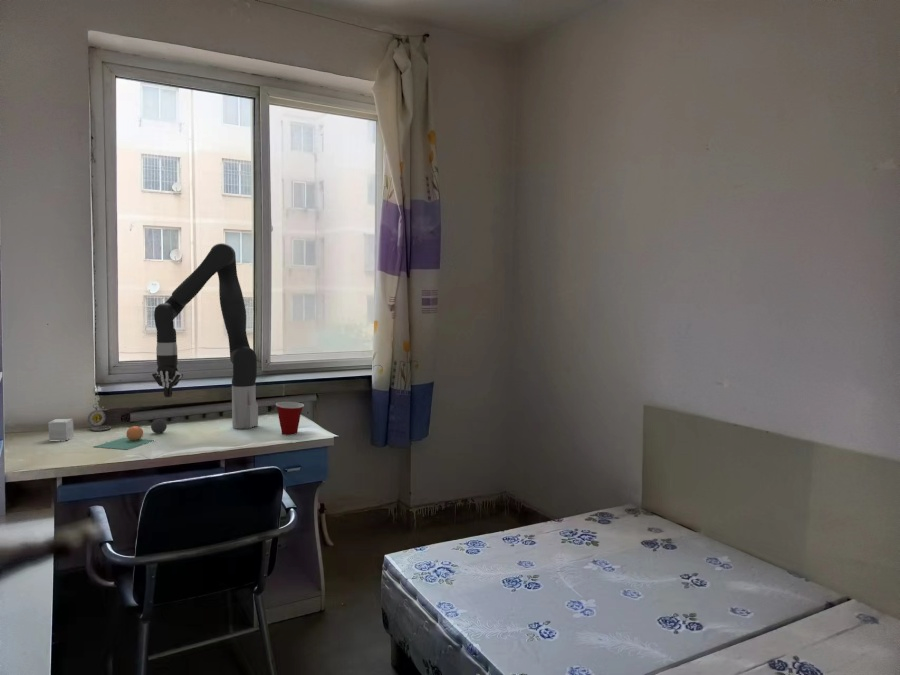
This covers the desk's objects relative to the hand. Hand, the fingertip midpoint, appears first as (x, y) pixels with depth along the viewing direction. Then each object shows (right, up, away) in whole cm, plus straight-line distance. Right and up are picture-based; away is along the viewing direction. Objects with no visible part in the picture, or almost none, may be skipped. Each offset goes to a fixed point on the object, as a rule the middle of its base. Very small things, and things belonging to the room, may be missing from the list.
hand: (168, 396), depth 239 cm
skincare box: (-32, -15, -16) cm, 39 cm away
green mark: (-5, -15, -21) cm, 27 cm away
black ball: (-1, -11, -5) cm, 12 cm away
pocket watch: (-28, -13, +1) cm, 31 cm away
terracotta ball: (-4, -12, -17) cm, 21 cm away
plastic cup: (+49, -14, -3) cm, 51 cm away
